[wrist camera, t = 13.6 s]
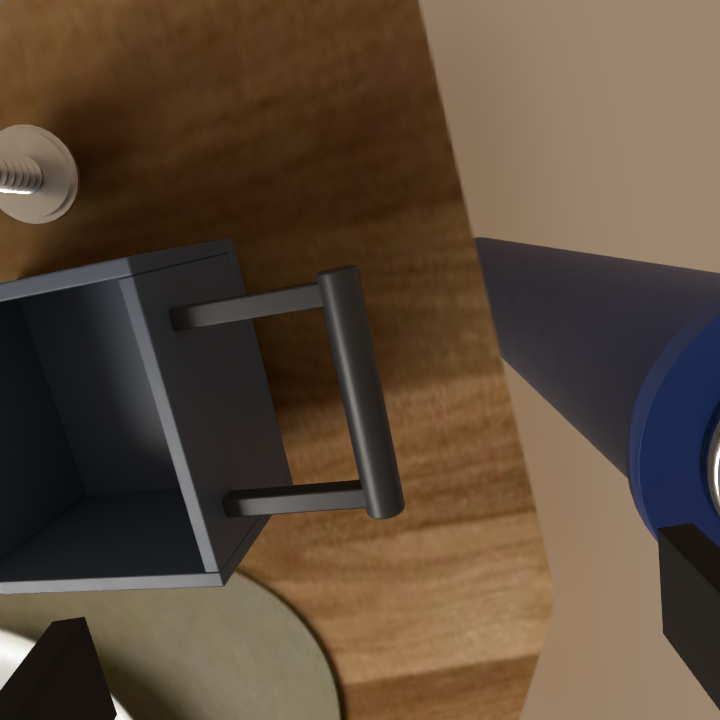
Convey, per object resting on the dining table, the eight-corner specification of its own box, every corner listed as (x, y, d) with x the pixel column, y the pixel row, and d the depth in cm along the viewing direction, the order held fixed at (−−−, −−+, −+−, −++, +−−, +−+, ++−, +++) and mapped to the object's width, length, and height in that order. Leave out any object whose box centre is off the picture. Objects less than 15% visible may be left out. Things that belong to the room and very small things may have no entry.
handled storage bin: (381, 206, 27) (331, 213, 19) (430, 472, 30) (406, 580, 22) (12, 283, 33) (-153, 315, 24) (87, 500, 36) (-36, 596, 28)
